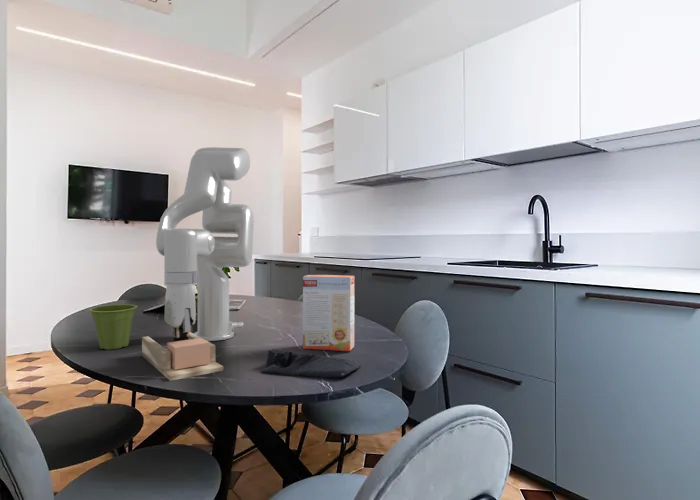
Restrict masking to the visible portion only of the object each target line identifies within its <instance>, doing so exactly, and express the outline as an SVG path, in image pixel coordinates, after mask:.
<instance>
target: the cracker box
mask: <svg viewBox="0 0 700 500" xmlns="http://www.w3.org/2000/svg"><path fill="white" fill-rule="evenodd" d="M353 348H355V275H341V274H339V275H338V274H336V275H335V274H307V275H304V276H302V349H306V350H321V351H337V352H350V351H352V350H353Z"/></svg>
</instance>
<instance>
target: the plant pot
mask: <svg viewBox="0 0 700 500" xmlns="http://www.w3.org/2000/svg"><path fill="white" fill-rule="evenodd" d="M137 308H138V305H135V304H127V303H126V304H123V303H122V304H120V303H119V304H106V305H100V306H95V307H91V308H89V312H91V316H92V319H93V322H94V325H95V330H96V335H97V341H98V345H99V348H100V349H101V350H103V349H104V350H108V351H109V350H111V351H112V350H118V349H122V347H128V346H129V343H130V338H131V332H132V331H131V330H132V325H133V319H134V316H135V311H136V310H137Z"/></svg>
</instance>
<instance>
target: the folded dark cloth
mask: <svg viewBox="0 0 700 500" xmlns="http://www.w3.org/2000/svg"><path fill="white" fill-rule="evenodd" d="M361 367H362V364H361V363H360V362H359V361H356V360H354V359H353V360H352V359H347V358H340V357H333V356H327V355H325V356H324V355H316V354H311V353H305V352H304V353H303V352H297V351H292V352H291V351H287V350H281V349H273V348H272V349H269V350H268V351H267V358H266V365H265V368H263V369H262V370H261V372H262V373H263V374H264V373H265V374H276V375H283V376H297V377H298V376H302V377H303V376H305V377H314V378H316V377H318V378H326V379H327V378H328V379H329V378H331V379H333V378H337V379H338V378H339V379H340V378H343V377H345V376H347V375H349V374H350V373H352V372H354V371H356V370H359V369H360V368H361Z"/></svg>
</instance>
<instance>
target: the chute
mask: <svg viewBox="0 0 700 500" xmlns="http://www.w3.org/2000/svg"><path fill="white" fill-rule="evenodd" d="M193 333H194V332H193ZM193 333H192V332H191V331H190V332H189V340H190V339H197V338H201V337H199V336H197V335H195V334H193ZM141 357H143V358H144V359H145V360H146V361H147V362H148V363H150V364H151V365H152V366H153V367H154V368H155V369H156V370H157V371H158V372H159V373H161V374H162V375H163V376H164V377H165V378H166V379H168V381H170V382H172V381H177V380H182V379H187V378H192V377H193V378H194V377H198V376H202V375H207V374H212V373H213V374H214V373H219V372H223V371H224V366H223V365H222V364H220V363H219V362H216V344H214V343H212V342H210V364H204V365H199V366H193V367H188V368H182V369H176V370H175V369H174V368H172V367H171V366H170V351H168V350H167V348H166V347H164V346H163V345H161V344H159V343H158V342H157V341H155V340H154V339H152V338H151V337H150V336H141Z"/></svg>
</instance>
